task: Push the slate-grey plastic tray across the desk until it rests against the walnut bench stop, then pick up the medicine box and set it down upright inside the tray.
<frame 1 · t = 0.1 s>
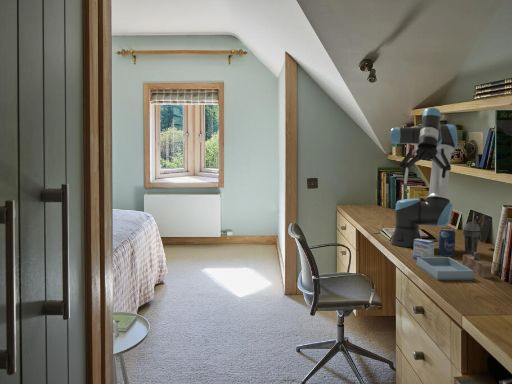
hand: (422, 183, 203), 36 cm above the table, tool tilted 35°, fingers open, 13 cm apart
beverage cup: (470, 255, 232), on the table
bench stop: (476, 271, 203), on the table
soda can: (446, 255, 233), on the table
tray: (443, 272, 202), on the table
medicine box: (423, 259, 224), on the table
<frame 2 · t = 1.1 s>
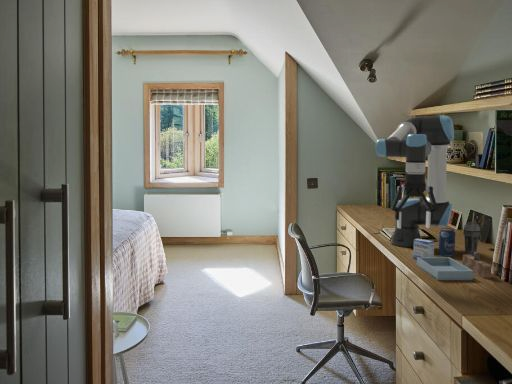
hand: (413, 227, 200), 18 cm above the table, tool pointing down, fingers open, 11 cm apart
nothing on the table moved.
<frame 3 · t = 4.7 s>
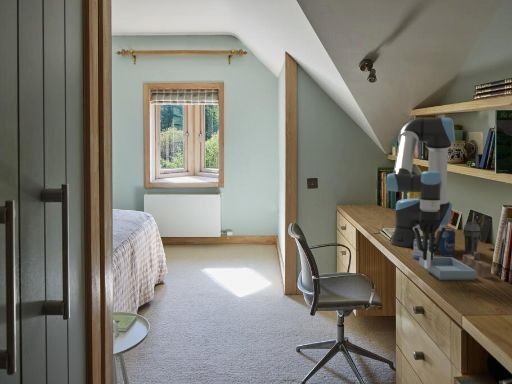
hand: (427, 267, 202), 2 cm above the table, tool pointing down, fingers closed
tray: (445, 272, 202), on the table, touching gripper
everything else where it was.
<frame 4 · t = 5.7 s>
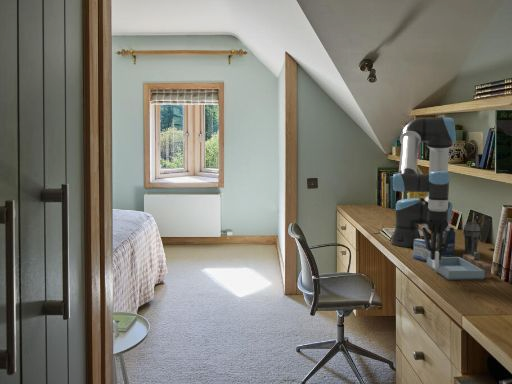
hand: (435, 267, 202), 2 cm above the table, tool pointing down, fingers closed
tray: (453, 272, 202), on the table, touching gripper
everything else where it was.
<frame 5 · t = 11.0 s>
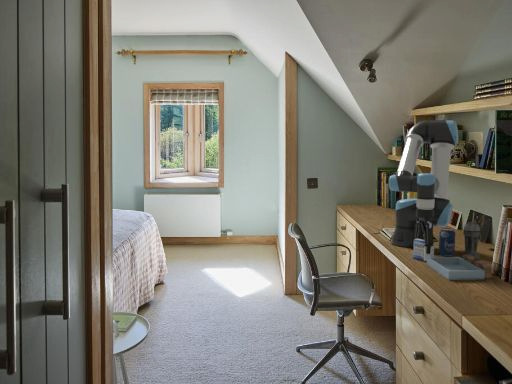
hand: (423, 258, 224), 0 cm above the table, tool pointing down, fingers closed on medicine box, 9 cm apart
tray: (454, 272, 202), on the table
medicine box: (423, 259, 224), on the table, touching gripper
everything else where it was.
when the fingers open (3 cm above the table, at t = 17.5 s): medicine box drops 2 cm, resting on tray.
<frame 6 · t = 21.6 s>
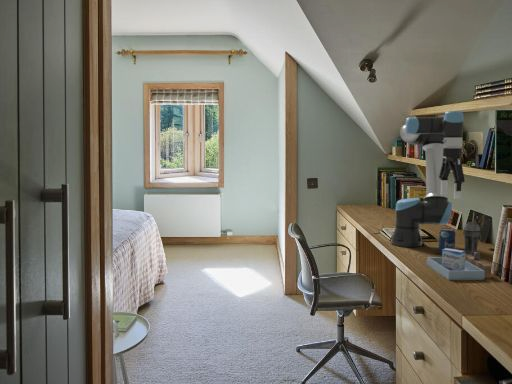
hand: (450, 196, 216), 29 cm above the table, tool pointing down, fingers open, 13 cm apart
tray: (454, 272, 202), on the table, touching medicine box
medicine box: (452, 271, 202), resting on tray
everything else where it was.
at the end: tray 0.4 cm from the target spot, on the table; medicine box inside the target area on the tray (0.5 cm from its centre), point 0.4 cm above the tray's base; medicine box tilted 0° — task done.
